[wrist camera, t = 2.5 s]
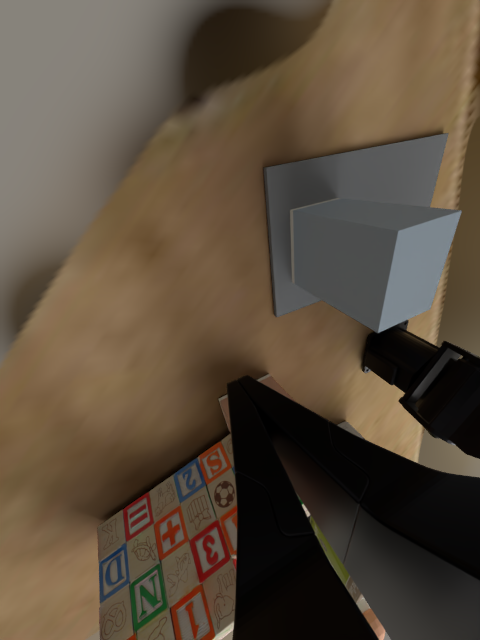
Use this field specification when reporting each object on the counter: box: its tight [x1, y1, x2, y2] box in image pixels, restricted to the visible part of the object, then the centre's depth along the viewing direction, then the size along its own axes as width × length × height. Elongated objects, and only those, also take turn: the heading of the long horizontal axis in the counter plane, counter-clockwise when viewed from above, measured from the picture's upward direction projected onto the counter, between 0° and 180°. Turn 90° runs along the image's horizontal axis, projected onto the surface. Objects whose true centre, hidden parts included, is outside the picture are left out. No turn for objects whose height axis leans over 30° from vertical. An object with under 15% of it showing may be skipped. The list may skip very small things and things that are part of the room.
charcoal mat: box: [264, 133, 448, 317], centre depth 23 cm, size 18×12×1 cm, turn 99°
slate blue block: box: [290, 198, 461, 333], centre depth 18 cm, size 4×6×9 cm
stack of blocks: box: [97, 434, 310, 640], centre depth 25 cm, size 21×6×12 cm, turn 115°
